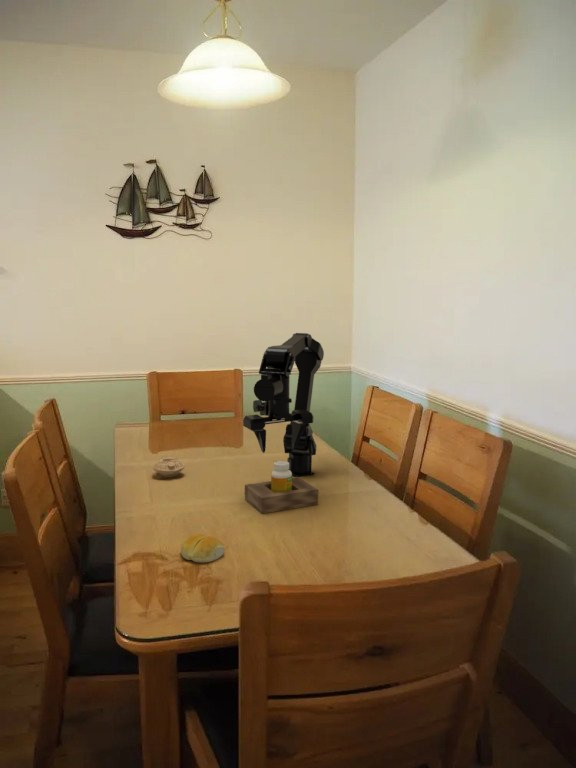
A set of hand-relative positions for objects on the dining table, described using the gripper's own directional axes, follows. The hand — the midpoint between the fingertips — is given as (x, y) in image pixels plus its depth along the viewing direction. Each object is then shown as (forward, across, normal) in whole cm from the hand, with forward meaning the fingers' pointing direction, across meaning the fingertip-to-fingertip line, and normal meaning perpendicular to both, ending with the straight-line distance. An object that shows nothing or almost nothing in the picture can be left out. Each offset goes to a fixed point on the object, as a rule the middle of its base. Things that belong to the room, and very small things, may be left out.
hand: (278, 450), depth 164 cm
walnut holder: (+12, +3, +8) cm, 14 cm away
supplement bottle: (+11, +3, +8) cm, 14 cm away
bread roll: (+11, +32, +28) cm, 44 cm away
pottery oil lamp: (+12, +22, -28) cm, 38 cm away
